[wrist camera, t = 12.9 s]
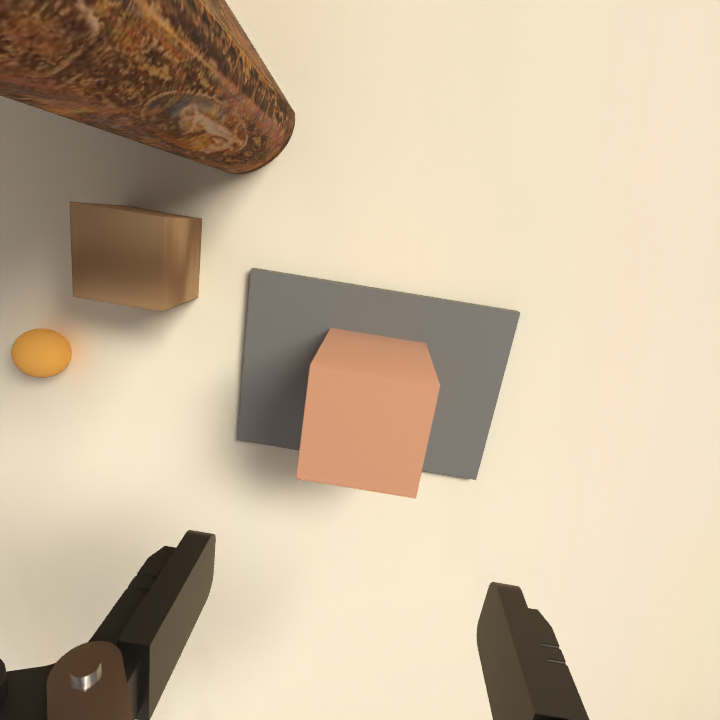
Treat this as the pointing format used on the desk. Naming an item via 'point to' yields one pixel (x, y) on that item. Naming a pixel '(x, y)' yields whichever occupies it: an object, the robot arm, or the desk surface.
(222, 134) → the antique leather tome
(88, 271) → the walnut block
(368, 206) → the desk surface
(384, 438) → the peach cube
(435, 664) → the desk surface
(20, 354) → the orange ball
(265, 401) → the rubber mat
